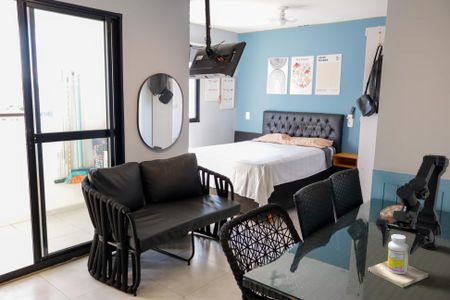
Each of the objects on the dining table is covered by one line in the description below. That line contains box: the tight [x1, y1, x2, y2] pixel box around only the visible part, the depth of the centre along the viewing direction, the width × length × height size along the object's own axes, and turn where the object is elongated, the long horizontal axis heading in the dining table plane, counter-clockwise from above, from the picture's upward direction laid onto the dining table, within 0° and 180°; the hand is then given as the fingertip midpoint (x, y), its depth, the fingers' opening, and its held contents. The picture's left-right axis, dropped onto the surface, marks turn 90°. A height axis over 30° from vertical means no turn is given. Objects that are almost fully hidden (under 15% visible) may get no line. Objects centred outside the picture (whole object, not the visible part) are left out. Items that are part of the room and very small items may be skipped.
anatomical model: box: [379, 204, 403, 224], centre depth 186 cm, size 23×10×5 cm, turn 135°
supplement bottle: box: [387, 233, 410, 274], centre depth 128 cm, size 7×7×13 cm
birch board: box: [367, 260, 429, 289], centre depth 129 cm, size 14×14×1 cm
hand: (396, 250), depth 127 cm, fingers open, 9 cm apart
